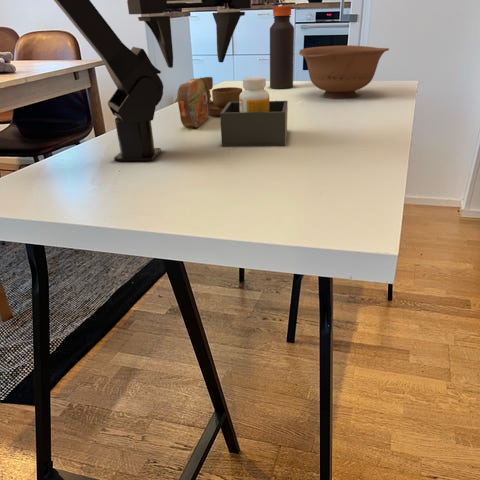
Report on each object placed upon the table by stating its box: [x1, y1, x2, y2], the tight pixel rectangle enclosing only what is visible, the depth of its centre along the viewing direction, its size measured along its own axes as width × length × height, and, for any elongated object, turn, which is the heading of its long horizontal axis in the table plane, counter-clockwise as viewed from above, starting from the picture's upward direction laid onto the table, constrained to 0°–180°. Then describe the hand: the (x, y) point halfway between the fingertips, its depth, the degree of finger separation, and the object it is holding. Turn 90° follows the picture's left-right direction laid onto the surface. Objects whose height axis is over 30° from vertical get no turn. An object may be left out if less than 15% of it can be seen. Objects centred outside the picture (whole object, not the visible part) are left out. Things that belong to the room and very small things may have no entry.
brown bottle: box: [269, 5, 295, 90], centre depth 135 cm, size 7×7×20 cm
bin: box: [219, 100, 289, 147], centre depth 88 cm, size 11×11×6 cm
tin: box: [176, 77, 210, 129], centre depth 100 cm, size 15×3×8 cm, turn 169°
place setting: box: [202, 76, 243, 117], centre depth 113 cm, size 18×20×6 cm
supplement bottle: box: [239, 76, 270, 112], centre depth 86 cm, size 5×5×10 cm
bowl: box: [298, 44, 390, 99], centre depth 122 cm, size 22×22×11 cm
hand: (196, 64), depth 78 cm, fingers open, 9 cm apart
